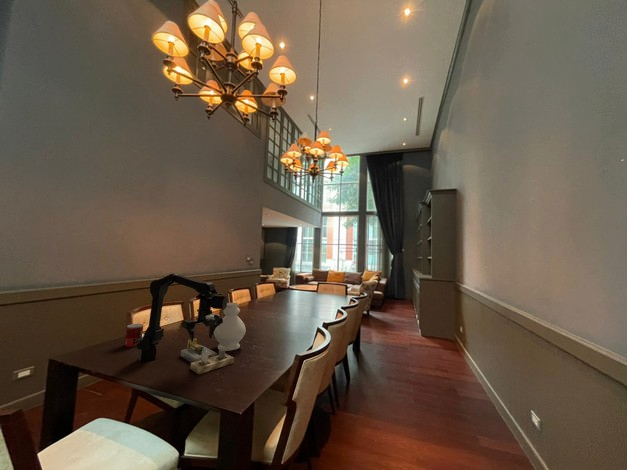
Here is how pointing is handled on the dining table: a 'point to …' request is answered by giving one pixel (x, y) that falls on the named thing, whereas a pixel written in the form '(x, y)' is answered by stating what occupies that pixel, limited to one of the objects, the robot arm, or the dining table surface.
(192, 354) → the socket
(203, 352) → the grey rounded cylinder
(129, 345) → the canned food
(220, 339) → the decorative vase
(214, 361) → the rack
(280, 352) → the dining table surface
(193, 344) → the key
